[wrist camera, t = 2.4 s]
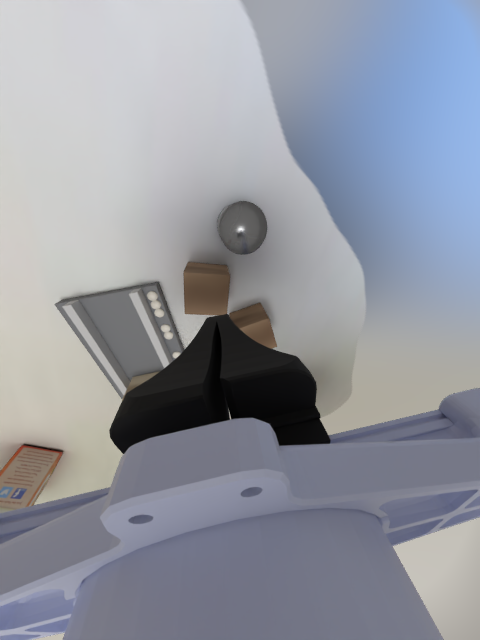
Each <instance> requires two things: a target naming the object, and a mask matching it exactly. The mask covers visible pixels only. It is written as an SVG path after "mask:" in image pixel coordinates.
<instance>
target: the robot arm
mask: <svg viewBox="0 0 480 640" xmlns="http://www.w3.org/2000/svg"><path fill="white" fill-rule="evenodd" d="M316 390H317V388H316V382H315V380H314V378H313V376H312V374H311V373H310V371H309V370H308V369H307V368H306V366H305V365H304V364H303V363H302V362H301V361H300V359H299V358H298V357H297V356H294V355H290V354H286V353H282V352H279V351H276V350H273V349H271V348H268V347H266V346H264V345H262V344H260V343H258V342H256V341H255V340H253V339H252V338H250V337H249V336H247V335H246V334H245V333H244V332H243V331H241V330H240V329H239V328H238V327H237V326H236V325H235V323H234V322H233V321H232V320H231V318H230V317H229V315H228V314H224V315H219V316H214V317H209V318H207V319H206V320H205V322H204V324H203V325H202V327H201V329H200V330H199V332H198V333H197V335H196V336H195V338H194V339H193V340H192V342H191V343H190V344H189V346H188V347H187V348H186V349H185V350H184V351H183V352H182V353H181V354H180V355H179V356H178V357H177V358H176V359H175V360H174V361H172V362H171V363H170V364H169V365H168V366H167V367H165V368H164V369H163V370H161V371H160V372H159V373H157V374H156V375H154V376H153V377H152V378H150V379H149V380H147V381H145V382H144V383H142V384H140V385H139V386H137V387H136V388H134V389H132V390H131V391H129V392H127V393H126V395H125V397H124V399H123V401H122V403H121V405H120V407H119V410H118V412H117V414H116V416H115V418H114V421H113V423H112V425H111V428H110V430H109V431H110V438H111V439H112V441H113V442H114V444H115V445H116V446H117V447H118V449H119V450H120V451H121V452H122V453H123V454H124V455H123V456H122V457H121V459H120V462H119V465H118V468H117V470H116V473H115V476H114V479H113V482H112V484H111V487H109V488H105V489H101V490H96V491H92V492H88V493H84V494H79V495H75V496H71V497H67V498H63V499H58V500H54V501H50V502H46V503H41V504H37V505H33V506H29V507H25V508H20V509H16V510H12V511H8V512H3V513H0V640H32V639H37V638H42V637H46V636H51V635H55V634H60V633H65V634H64V637H63V640H444V639H443V638H442V636H441V634H440V632H439V630H438V629H437V627H436V625H435V623H434V621H433V619H432V618H431V616H430V614H429V612H428V610H427V609H426V607H425V605H424V603H423V601H422V599H421V598H420V596H419V594H418V592H417V590H416V588H415V587H414V585H413V583H412V581H411V579H410V578H409V576H408V574H407V572H406V570H405V568H404V567H403V565H402V563H401V561H400V559H399V557H398V556H397V554H396V552H395V550H394V548H393V547H392V546H394V545H398V544H401V543H404V542H407V541H410V540H412V539H415V538H419V537H422V536H424V535H428V534H430V533H433V532H437V531H439V530H442V529H445V528H448V527H451V526H454V525H457V524H460V523H463V522H466V521H469V520H473V519H476V518H479V517H480V388H475V389H471V390H467V391H462V392H458V393H454V394H451V395H449V396H447V397H446V398H444V399H443V400H442V402H441V403H440V406H439V409H438V410H435V411H430V412H426V413H422V414H418V415H413V416H409V417H405V418H400V419H396V420H392V421H388V422H384V423H379V424H375V425H371V426H367V427H363V428H359V429H354V430H350V431H346V432H341V433H338V434H333V435H329V436H328V434H327V432H326V431H325V428H324V426H323V425H322V423H321V421H320V413H319V412H318V410H317V408H316V406H315V402H316ZM228 408H229V410H228ZM229 412H230V415H231V420H230V418H229Z"/></svg>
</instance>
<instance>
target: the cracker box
mask: <svg viewBox="0 0 480 640" xmlns="http://www.w3.org/2000/svg"><path fill="white" fill-rule="evenodd" d="M62 454H63V452H58V451H53V450H47V449H42V448H36V447H31V446H25V445H22V446H21V447H20V448H19V449H18V451H17V452H16V453H15V454H14V455H13V457H12V458H11V459H10V460H9V461H8V463H7V464H6V465H5V466H4V467H3V469H2V470H1V471H0V513H3V512H8V511H12V510H16V509H20V508H25V507H29V506H33V505H34V503H35V502H36V500H37V498H38V497H39V495H40V494H41V492H42V490H43V488H44V487H45V485H46V483H47V481H48V480H49V478H50V476H51V474H52V472H53V471H54V469H55V467H56V465H57V463H58V461H59V459H60V457H61V456H62Z"/></svg>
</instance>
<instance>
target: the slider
mask: <svg viewBox="0 0 480 640" xmlns="http://www.w3.org/2000/svg"><path fill="white" fill-rule="evenodd" d="M159 372H160V371H159ZM159 372H154V373H149V374H144V375H140V376H135V377H132V379H131V382H130V384H129V386H128V388H127V390H126V392H125V394H124V397H125V395H126V393H127V392H129V391H131V390H132V389H134V388H136V387H137V386H139V385H140V384H142V383H144V382H145V381H147V380H149V379H150V378H152V377H153V376H154V375H156V374H157V373H159ZM124 397H123V399H124ZM123 399H122V401H123Z"/></svg>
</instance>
